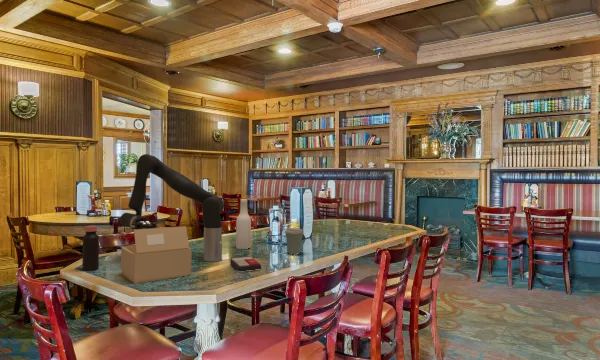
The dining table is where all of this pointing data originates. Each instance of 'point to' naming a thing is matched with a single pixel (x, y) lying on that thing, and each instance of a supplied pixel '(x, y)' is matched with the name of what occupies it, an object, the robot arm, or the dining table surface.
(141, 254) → the carton
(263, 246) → the dining table surface
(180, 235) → the carton flap
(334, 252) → the dining table surface
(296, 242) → the disposable coffee cup
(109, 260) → the dining table surface
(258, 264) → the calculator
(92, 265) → the bottle
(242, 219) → the alcohol
